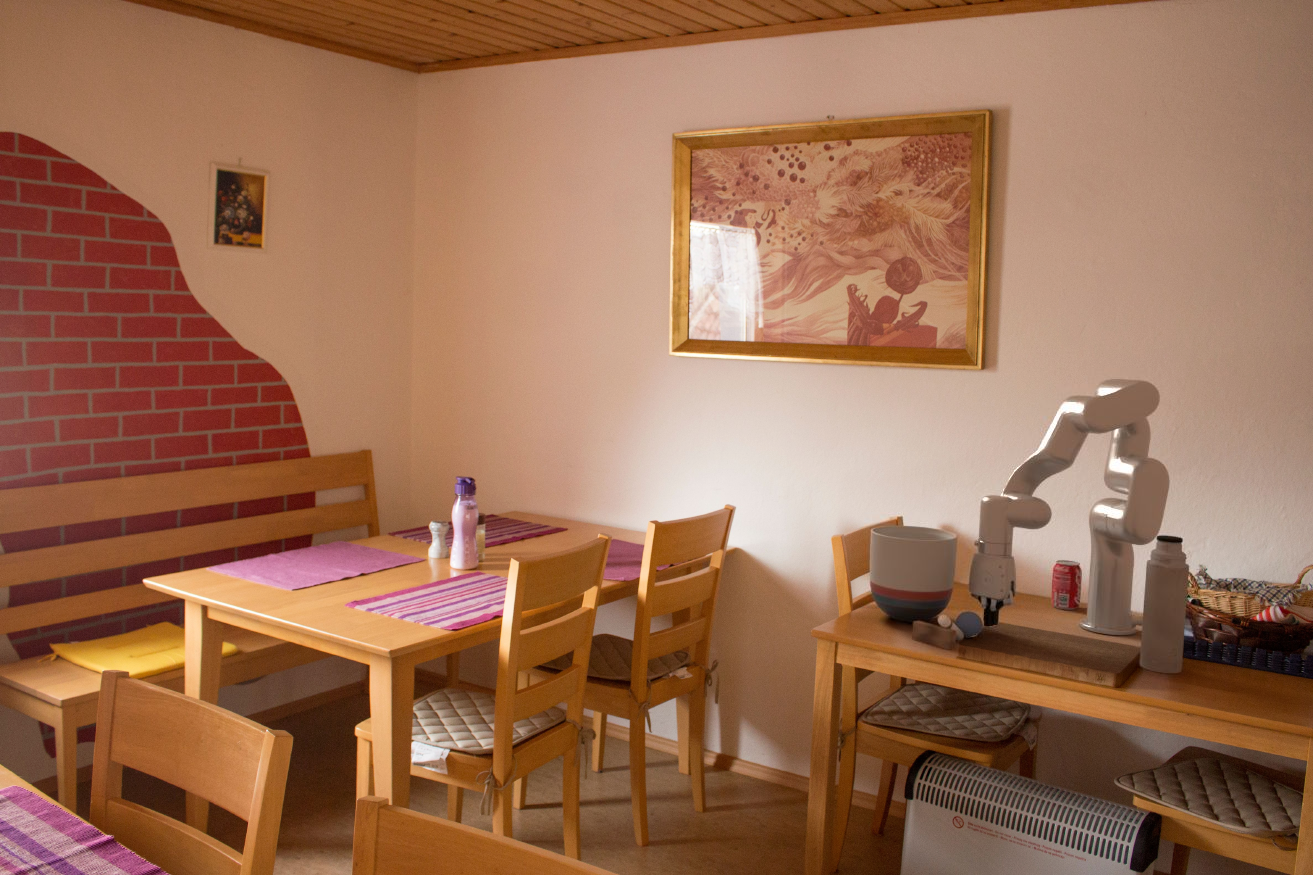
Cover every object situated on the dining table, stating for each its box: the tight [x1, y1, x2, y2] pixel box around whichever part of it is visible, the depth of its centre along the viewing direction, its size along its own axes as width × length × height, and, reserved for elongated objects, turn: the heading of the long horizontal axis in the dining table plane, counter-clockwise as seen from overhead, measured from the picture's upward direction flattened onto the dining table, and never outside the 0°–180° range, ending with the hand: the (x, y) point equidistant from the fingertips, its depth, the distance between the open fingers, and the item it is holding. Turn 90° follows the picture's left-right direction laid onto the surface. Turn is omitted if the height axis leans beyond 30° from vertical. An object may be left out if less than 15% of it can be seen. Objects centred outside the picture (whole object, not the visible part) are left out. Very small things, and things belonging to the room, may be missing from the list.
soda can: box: [1050, 559, 1083, 611], centre depth 266 cm, size 7×7×12 cm
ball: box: [954, 610, 984, 639], centre depth 234 cm, size 6×6×6 cm
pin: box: [937, 614, 965, 642], centre depth 229 cm, size 2×2×8 cm
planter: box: [869, 525, 958, 623], centre depth 249 cm, size 20×20×21 cm
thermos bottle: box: [1139, 534, 1190, 674], centre depth 214 cm, size 8×8×28 cm
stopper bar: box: [911, 621, 956, 651], centre depth 228 cm, size 10×2×4 cm, turn 39°
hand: (990, 625), depth 240 cm, fingers closed
